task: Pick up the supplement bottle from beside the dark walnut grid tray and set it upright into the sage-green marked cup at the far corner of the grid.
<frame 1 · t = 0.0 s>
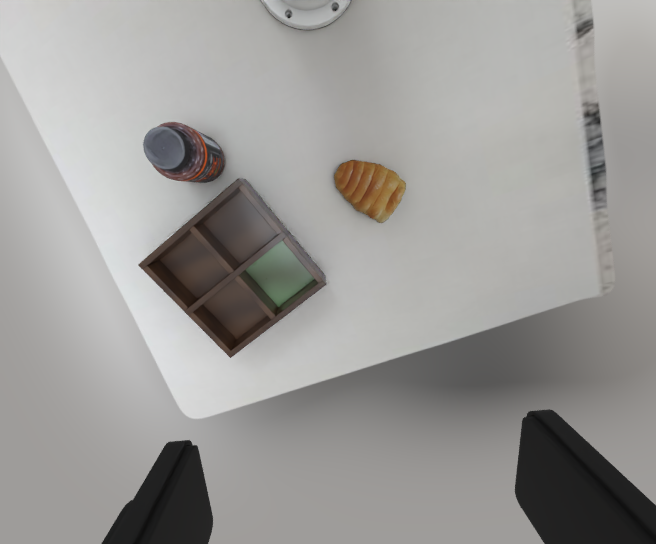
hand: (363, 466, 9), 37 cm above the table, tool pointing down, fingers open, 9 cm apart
supplement bottle: (203, 159, 42), on the table
grid: (241, 267, 45), on the table
pastry: (369, 191, 44), on the table
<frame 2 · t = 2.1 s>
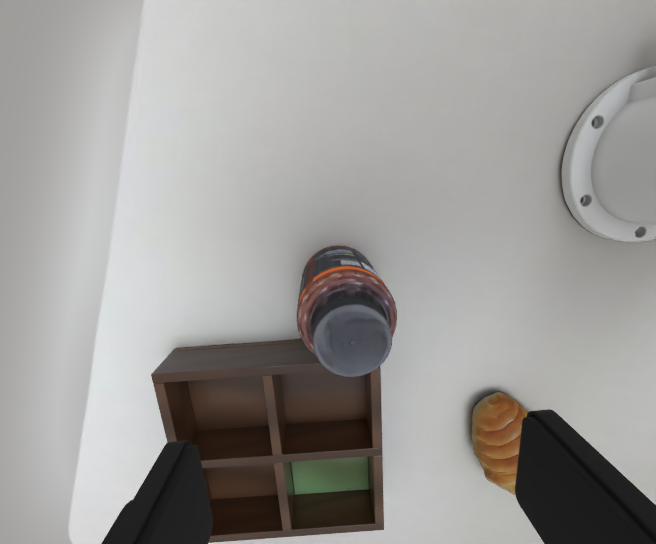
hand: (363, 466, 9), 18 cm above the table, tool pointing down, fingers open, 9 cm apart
supplement bottle: (337, 278, 27), on the table
grid: (283, 423, 30), on the table
pastry: (498, 432, 31), on the table
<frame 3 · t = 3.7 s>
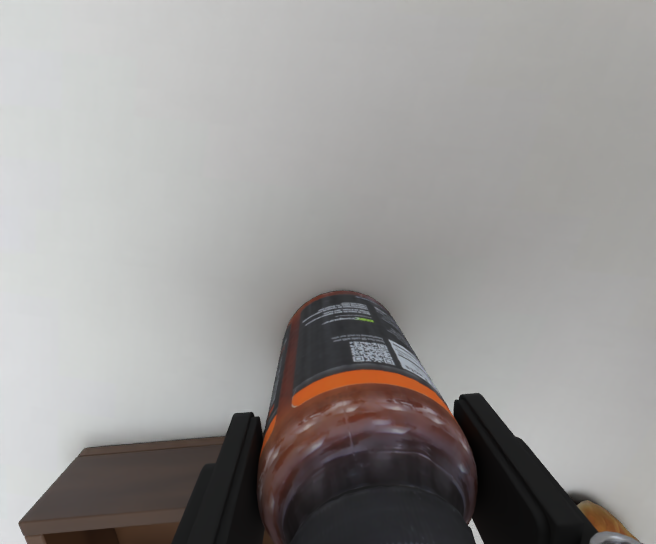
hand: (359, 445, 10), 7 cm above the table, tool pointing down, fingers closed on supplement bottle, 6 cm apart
supplement bottle: (341, 338, 17), on the table, touching gripper
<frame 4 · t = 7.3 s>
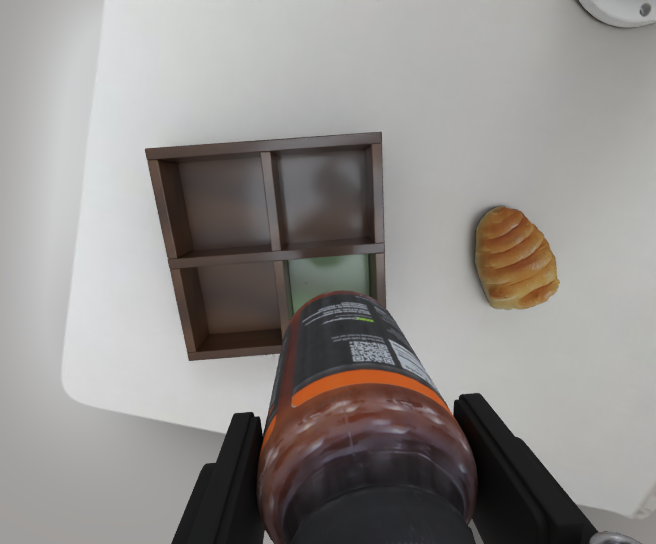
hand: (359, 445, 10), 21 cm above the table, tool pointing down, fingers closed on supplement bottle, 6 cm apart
supplement bottle: (341, 338, 17), point 14 cm above the table, touching gripper
grid: (282, 246, 29), on the table
pastry: (502, 260, 31), on the table
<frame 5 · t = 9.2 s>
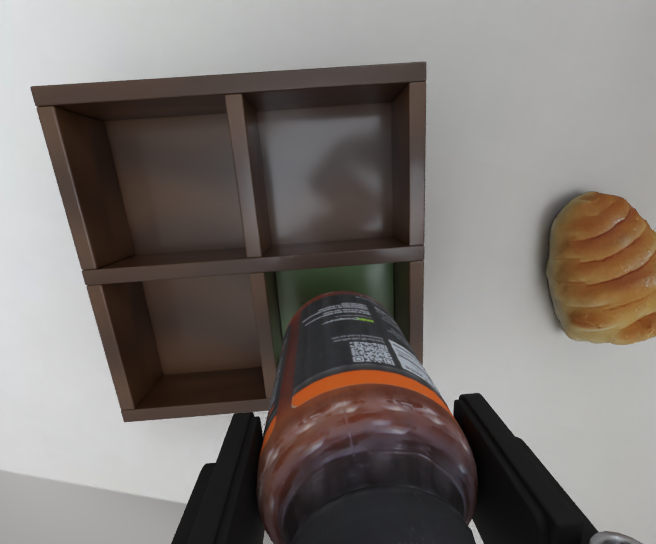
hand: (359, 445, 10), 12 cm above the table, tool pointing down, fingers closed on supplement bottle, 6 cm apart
supplement bottle: (341, 339, 17), point 5 cm above the table, touching gripper
grid: (267, 250, 20), on the table
pastry: (582, 270, 21), on the table
when the fingers open (8 cm above the table, at t = 10.8 s): supplement bottle stays where it is, resting on grid.
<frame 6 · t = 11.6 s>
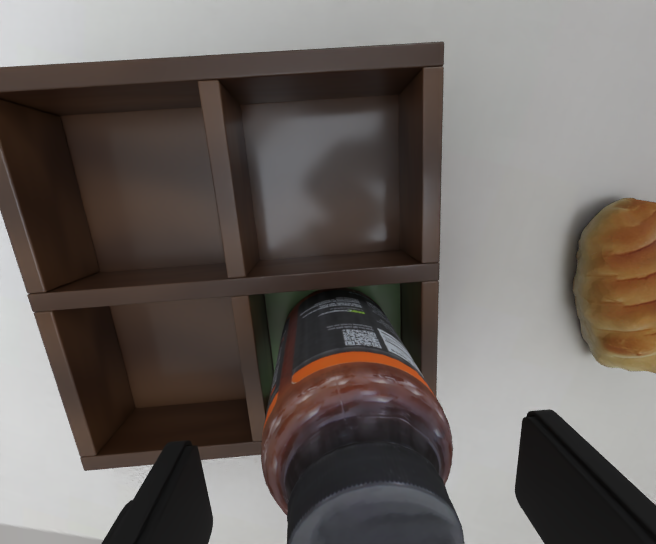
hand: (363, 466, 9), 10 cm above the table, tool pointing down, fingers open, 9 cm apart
supplement bottle: (336, 332, 18), point 1 cm above the table, touching grid
grid: (255, 265, 17), on the table
pastry: (613, 286, 19), on the table
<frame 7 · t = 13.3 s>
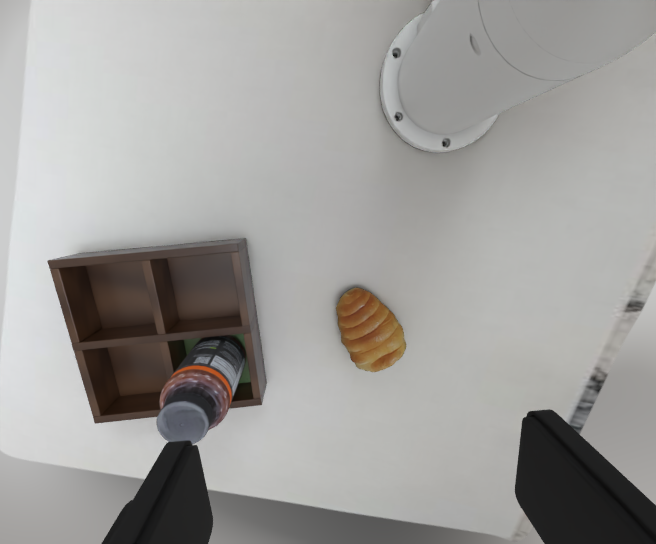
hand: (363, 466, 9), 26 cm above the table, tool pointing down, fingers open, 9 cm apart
supplement bottle: (221, 354, 36), point 1 cm above the table, touching grid
grid: (179, 322, 35), on the table
pastry: (366, 327, 37), on the table
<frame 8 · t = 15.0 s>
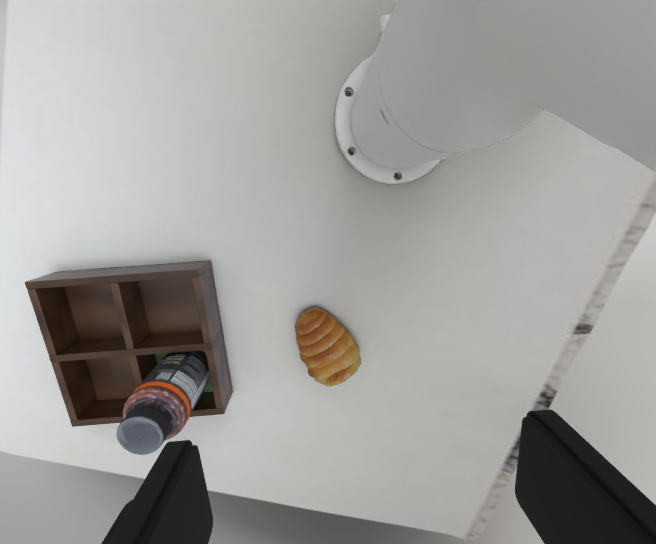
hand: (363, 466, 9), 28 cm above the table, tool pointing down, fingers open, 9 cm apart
supplement bottle: (189, 365, 39), point 1 cm above the table, touching grid
grid: (150, 335, 38), on the table
pastry: (325, 343, 39), on the table
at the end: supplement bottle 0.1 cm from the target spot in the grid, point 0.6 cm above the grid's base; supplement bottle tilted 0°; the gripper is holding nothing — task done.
